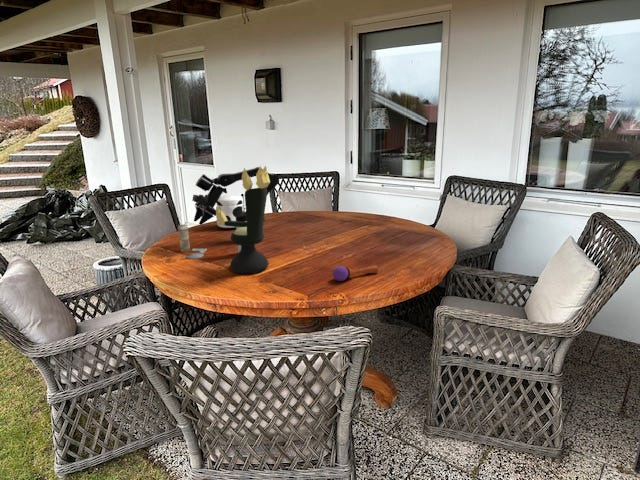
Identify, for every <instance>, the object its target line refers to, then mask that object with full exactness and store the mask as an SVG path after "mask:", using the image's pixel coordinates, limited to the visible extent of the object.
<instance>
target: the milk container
mask: <svg viewBox="0 0 640 480" xmlns="http://www.w3.org/2000/svg"><path fill="white" fill-rule="evenodd" d="M243 199H244V197H243V196H242V195H223V196H222V195H221V196H220V198H219V199H218V203H216V207H217V208H218V209H219V210H221V211H222V212H223V213H224V214H225V216H226V218H227V220H228V221H236V216H237V215H239V214H242V212H243V211H245V210H244V200H243ZM216 224H217V226H218V227H219V228H221V229H226V230H233V229H236V227H234V226H225V225H219V221H218V219H217V218H216Z"/></svg>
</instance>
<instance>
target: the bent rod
mask: <svg viewBox="0 0 640 480" xmlns="http://www.w3.org/2000/svg"><path fill="white" fill-rule="evenodd" d="M191 251H192V252H199V253H202V254H204V253H205V252H207V251H208V250H207V248H192V249H191Z"/></svg>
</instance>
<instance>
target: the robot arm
mask: <svg viewBox="0 0 640 480" xmlns="http://www.w3.org/2000/svg"><path fill="white" fill-rule="evenodd" d="M259 167H260V166H257V167H254V168H250V169H247V170H246V169H245V170H246V172H247V174H248V176H249V177H250V178H253V177H256V174H257V172H258V170H259ZM261 169H262V170H263V169H264V168H262V167H261ZM242 174H243V170H242V171H238V172H234V173H220V174H219V175H218V176H217V177H216V178H212V179H211V178H210V177H208V176H207V175H206V174H202V175H201V176H200V177H199V178H198V179H197V180H196V182H195V187H198V188H199V189H201V190H202V191H204V192H207V191H208V193H207V194H205V195H203V194H193V195H192V202H195V204H194V207H195V210H196V211H195V215H194V218H193V222H197V221H199V222H198V224H199V225H200V226H201V225H203V224H205V223H206V222H207V221H209V220H210V219H212V218H214V217H216V208H214V207H216V206H215V205H217V203H218V199H219V198H220V197H221V196H222V195H223V194H228V191H227V187H228V186H231V185H233V184H235V183H236V182H238V181H242ZM268 176H269V179H270V183H269V185H268V187H267V196H268V195H269V194H270V193H271V192H272V191H273V190H274V189H275V188H276V187H277V186H278V184H279V182H280V178H279V176H278V175H276V174H274V173H269V172H268ZM223 187H224V188H223ZM244 213H246V210H244V211H243V212H242V214H244Z"/></svg>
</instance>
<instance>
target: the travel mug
mask: <svg viewBox="0 0 640 480" xmlns="http://www.w3.org/2000/svg"><path fill="white" fill-rule="evenodd" d="M236 221H240V222H247V217H246V213H244V214H239V215H237V216H236ZM238 228H240V227H236V228H235V229H236V230H237V229H238ZM236 230H235V231H236ZM237 251H238V253H239V252H240V251H241V245H237ZM238 253H237V254H238Z"/></svg>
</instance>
